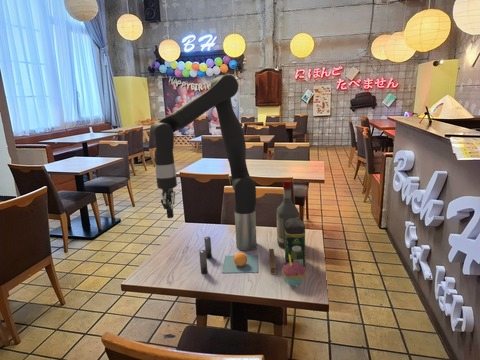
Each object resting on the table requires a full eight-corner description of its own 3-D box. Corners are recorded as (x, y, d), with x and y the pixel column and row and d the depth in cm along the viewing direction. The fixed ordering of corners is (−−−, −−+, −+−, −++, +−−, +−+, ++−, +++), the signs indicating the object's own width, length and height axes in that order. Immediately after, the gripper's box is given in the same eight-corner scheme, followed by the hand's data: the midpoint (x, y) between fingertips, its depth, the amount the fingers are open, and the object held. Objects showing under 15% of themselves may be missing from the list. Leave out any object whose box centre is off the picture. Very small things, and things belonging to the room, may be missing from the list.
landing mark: (257, 255, 136) (257, 254, 136) (257, 272, 123) (257, 272, 123) (225, 256, 137) (225, 255, 137) (221, 273, 124) (221, 272, 124)
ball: (245, 248, 130) (232, 252, 131) (243, 254, 124) (230, 258, 125) (249, 260, 131) (237, 264, 132) (248, 266, 125) (235, 270, 126)
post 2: (212, 255, 138) (210, 236, 136) (211, 258, 136) (210, 239, 133) (206, 255, 138) (204, 236, 136) (205, 258, 136) (203, 239, 134)
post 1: (208, 270, 126) (206, 249, 124) (207, 274, 123) (205, 253, 121) (201, 270, 126) (199, 250, 124) (200, 274, 123) (198, 253, 121)
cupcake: (291, 291, 110) (290, 259, 107) (277, 280, 117) (276, 250, 114) (310, 284, 114) (311, 253, 111) (296, 273, 121) (296, 244, 118)
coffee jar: (284, 258, 133) (283, 216, 128) (303, 258, 132) (303, 216, 128) (285, 270, 123) (285, 225, 119) (306, 270, 123) (306, 225, 118)
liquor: (295, 239, 150) (295, 178, 143) (300, 248, 141) (299, 183, 134) (276, 240, 150) (275, 179, 142) (279, 249, 141) (278, 184, 134)
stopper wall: (273, 253, 137) (273, 248, 136) (276, 273, 121) (276, 267, 121) (269, 254, 137) (268, 248, 136) (270, 273, 122) (270, 267, 121)
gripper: (171, 179, 116) (175, 223, 120) (179, 171, 128) (183, 211, 133) (151, 179, 116) (156, 224, 120) (161, 171, 129) (165, 212, 133)
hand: (170, 217), depth 126 cm, fingers closed
